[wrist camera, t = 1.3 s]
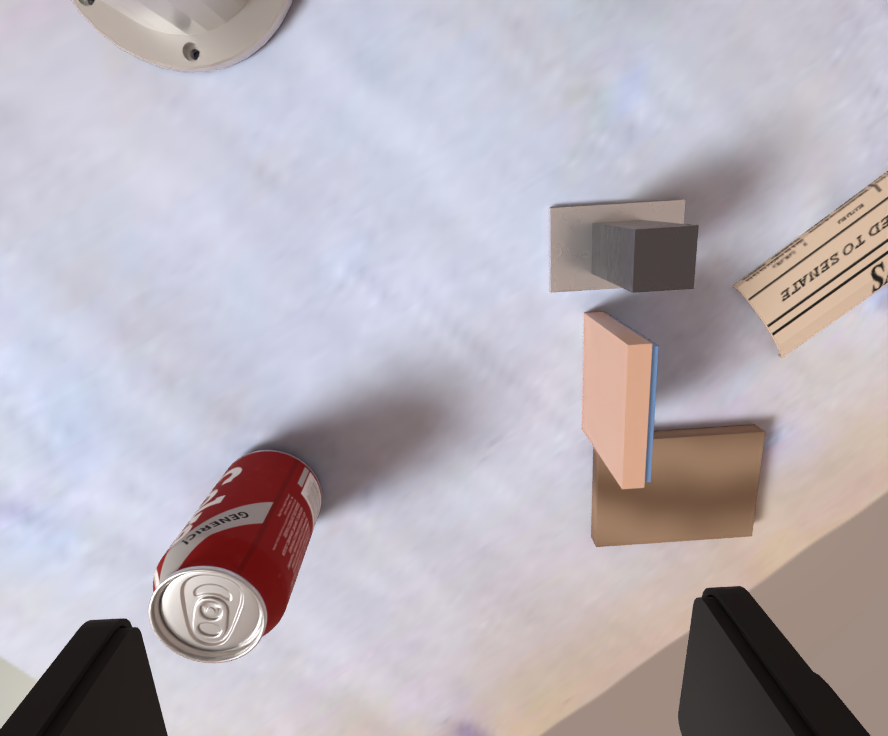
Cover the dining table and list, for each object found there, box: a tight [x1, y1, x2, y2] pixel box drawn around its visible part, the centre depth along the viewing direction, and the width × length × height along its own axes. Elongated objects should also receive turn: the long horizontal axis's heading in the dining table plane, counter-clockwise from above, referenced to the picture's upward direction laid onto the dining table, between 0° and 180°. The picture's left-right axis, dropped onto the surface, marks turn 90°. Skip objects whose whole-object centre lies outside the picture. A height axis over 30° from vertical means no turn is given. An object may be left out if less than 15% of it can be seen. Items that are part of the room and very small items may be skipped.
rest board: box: [591, 425, 765, 547], centre depth 37 cm, size 8×11×1 cm
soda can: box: [149, 450, 322, 663], centre depth 32 cm, size 7×7×12 cm
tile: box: [582, 312, 659, 489], centre depth 32 cm, size 8×2×8 cm, turn 3°
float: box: [549, 200, 698, 292], centre depth 30 cm, size 5×8×8 cm, turn 93°
